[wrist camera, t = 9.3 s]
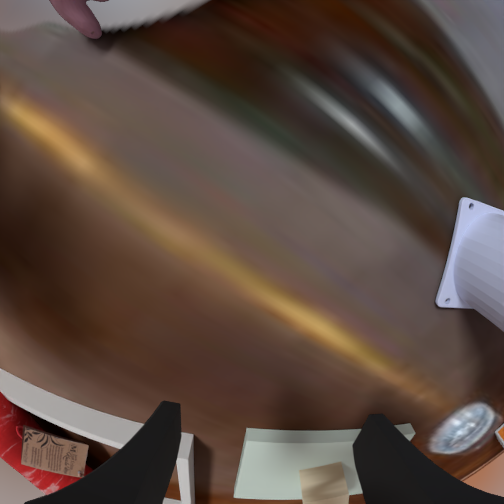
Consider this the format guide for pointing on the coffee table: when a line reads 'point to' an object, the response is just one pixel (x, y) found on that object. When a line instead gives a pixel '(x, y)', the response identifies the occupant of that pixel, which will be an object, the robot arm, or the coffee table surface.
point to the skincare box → (500, 434)
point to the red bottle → (39, 450)
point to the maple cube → (324, 485)
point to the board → (294, 460)
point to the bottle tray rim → (94, 426)
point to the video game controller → (79, 16)
